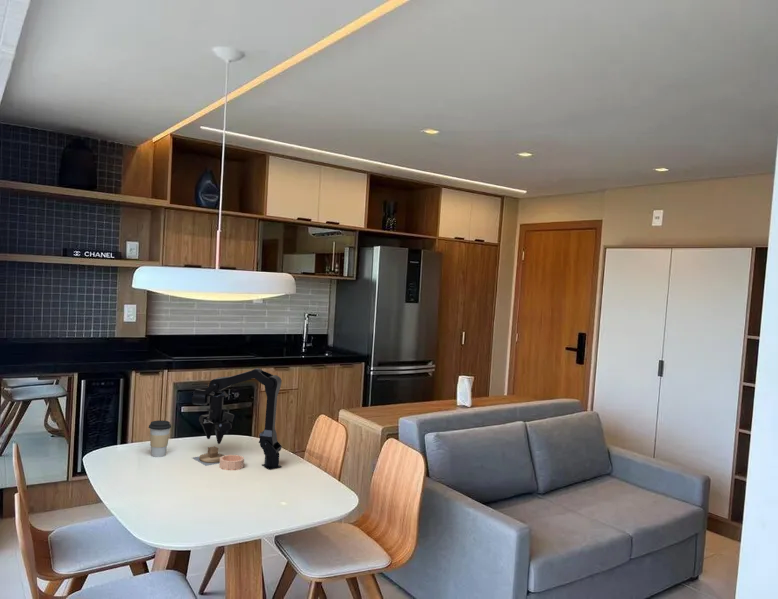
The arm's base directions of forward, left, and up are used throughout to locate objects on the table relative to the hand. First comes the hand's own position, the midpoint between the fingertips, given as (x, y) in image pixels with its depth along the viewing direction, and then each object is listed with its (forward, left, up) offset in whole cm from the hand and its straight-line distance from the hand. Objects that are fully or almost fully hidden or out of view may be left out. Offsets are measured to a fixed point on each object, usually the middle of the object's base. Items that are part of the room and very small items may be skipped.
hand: (213, 441), depth 260 cm
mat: (0, 0, -8) cm, 8 cm away
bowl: (-13, -2, -8) cm, 16 cm away
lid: (0, 0, -8) cm, 8 cm away
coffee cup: (+17, +17, -9) cm, 26 cm away
